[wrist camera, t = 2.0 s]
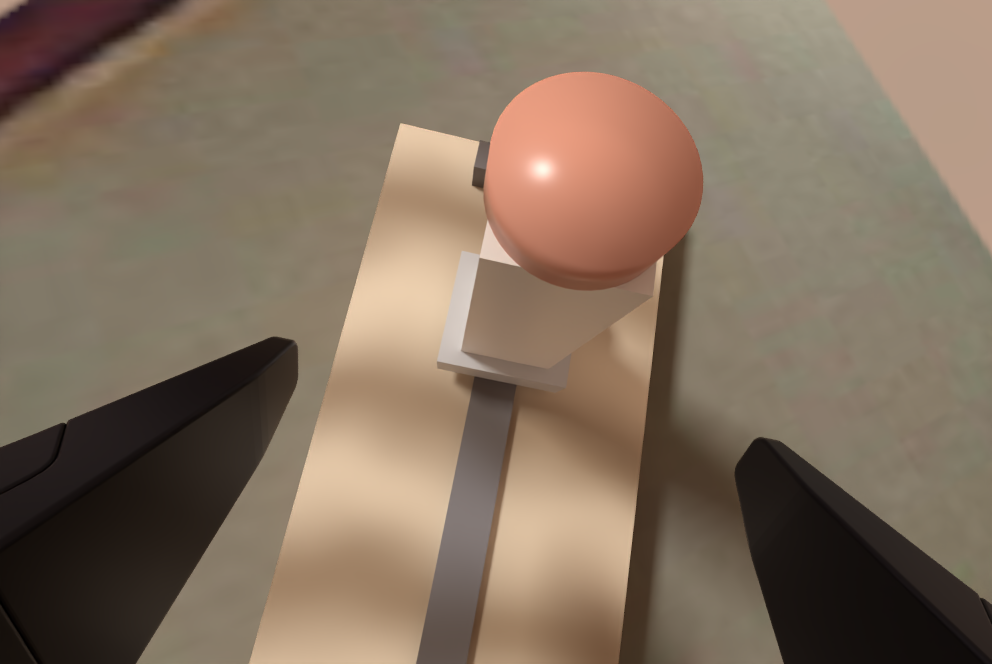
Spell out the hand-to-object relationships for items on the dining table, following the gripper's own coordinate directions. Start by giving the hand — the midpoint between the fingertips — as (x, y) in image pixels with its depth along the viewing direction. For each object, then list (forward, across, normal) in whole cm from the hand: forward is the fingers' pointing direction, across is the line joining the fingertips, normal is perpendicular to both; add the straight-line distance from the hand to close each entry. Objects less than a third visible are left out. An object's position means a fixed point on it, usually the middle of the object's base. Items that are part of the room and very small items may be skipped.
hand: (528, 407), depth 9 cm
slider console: (+7, 0, +8) cm, 11 cm away
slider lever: (+8, 0, +3) cm, 9 cm away
